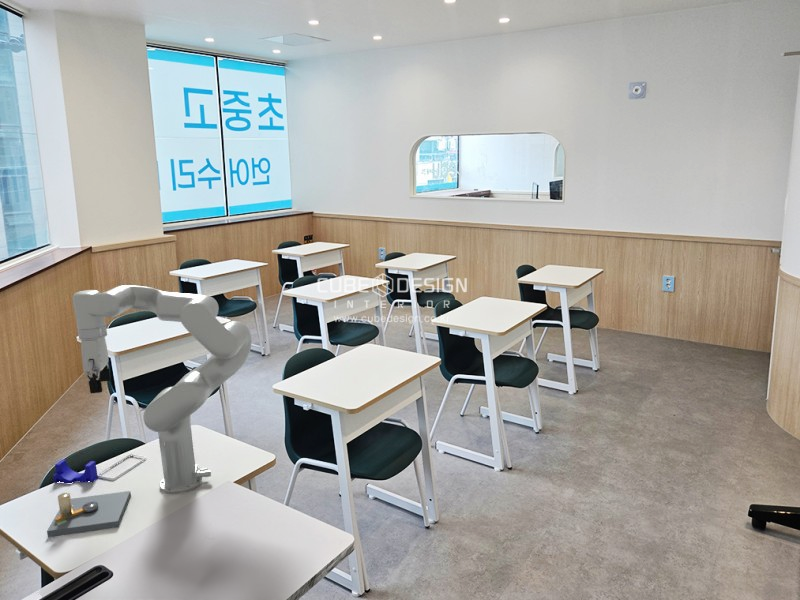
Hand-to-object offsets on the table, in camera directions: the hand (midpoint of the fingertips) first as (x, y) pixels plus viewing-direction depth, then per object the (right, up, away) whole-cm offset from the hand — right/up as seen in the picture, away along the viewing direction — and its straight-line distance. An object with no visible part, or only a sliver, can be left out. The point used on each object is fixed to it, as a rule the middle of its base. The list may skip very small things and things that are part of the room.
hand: (100, 386), depth 180 cm
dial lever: (-1, -35, -11) cm, 36 cm away
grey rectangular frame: (-2, -31, +19) cm, 36 cm away
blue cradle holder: (-14, -32, +12) cm, 37 cm away
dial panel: (+1, -36, -8) cm, 37 cm away
